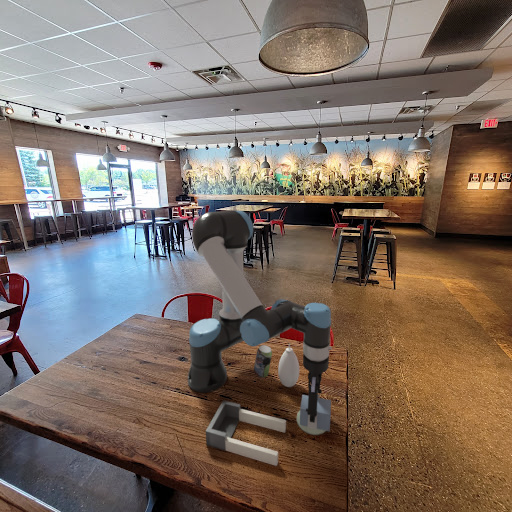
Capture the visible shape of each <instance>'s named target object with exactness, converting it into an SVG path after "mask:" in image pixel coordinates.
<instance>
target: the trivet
mask: <svg viewBox="0 0 512 512" xmlns="http://www.w3.org/2000/svg"><path fill="white" fill-rule="evenodd" d="M296 423H297V426H298V427H299V429H301V430H302V432H304V433H306V434H309V435H311V436H320V435H322V434H324V433H326V432H327V431H326V430H321V429H317V430H314V429H310V428H308V426H303V425H300V410H299V411H298V412H297V414H296Z"/></svg>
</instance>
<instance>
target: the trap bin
mask: <svg viewBox="0 0 512 512" xmlns="http://www.w3.org/2000/svg"><path fill="white" fill-rule="evenodd" d="M240 409H241V404H240V403H236V402H231V401H227V400H224V399H223V400H222V402H221V404H220V405H219V406H218V409H217V411H216V412H215V414H214V415H213V417H212V420H211V421H210V422H209V425H208V426H207V428H206V430H205V442H206V446H208V447H211V448H213V449H218V450H221V451H226V448H225V440H226V438H227V437H229V438H232V437H233V436H234V433H235V430H236V428H237V426H238V424H239V422H240V421H239V410H240ZM232 439H233V438H232ZM226 452H227V451H226Z"/></svg>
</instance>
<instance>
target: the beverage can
mask: <svg viewBox="0 0 512 512" xmlns="http://www.w3.org/2000/svg"><path fill="white" fill-rule="evenodd" d="M255 355H256V356H255V360H254V366H253V374H254V375H255V376H257V377H258V378H265V377H268V376H269V371H270V366H271V362H272V357H273V356H272V355H273V351H272V348H271V347H270V346H268V345H266V344H261V345H259V347H258V348H257V350H256V354H255Z"/></svg>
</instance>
